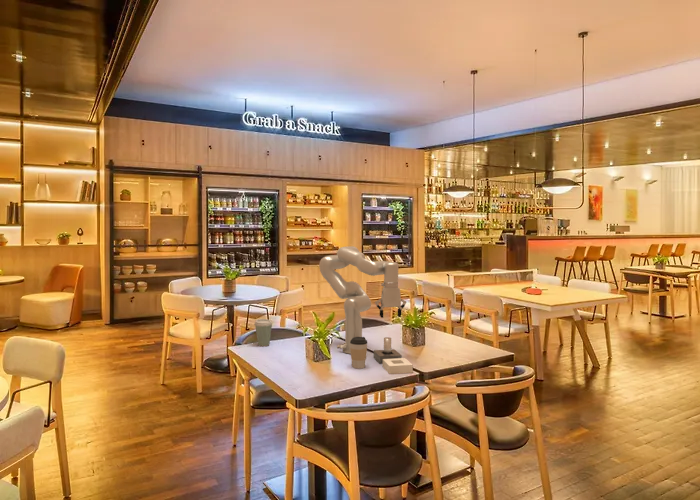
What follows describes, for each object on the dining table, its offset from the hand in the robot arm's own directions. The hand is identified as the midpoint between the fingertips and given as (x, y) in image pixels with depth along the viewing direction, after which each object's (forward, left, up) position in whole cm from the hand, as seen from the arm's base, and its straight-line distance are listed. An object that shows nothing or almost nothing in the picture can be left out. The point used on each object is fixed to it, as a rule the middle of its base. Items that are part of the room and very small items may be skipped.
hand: (390, 317), depth 262 cm
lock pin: (-1, 0, -24) cm, 24 cm away
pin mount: (-1, 0, -23) cm, 23 cm away
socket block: (-1, -17, -23) cm, 29 cm away
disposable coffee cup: (-65, +43, -24) cm, 82 cm away
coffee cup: (-19, -8, -24) cm, 32 cm away
